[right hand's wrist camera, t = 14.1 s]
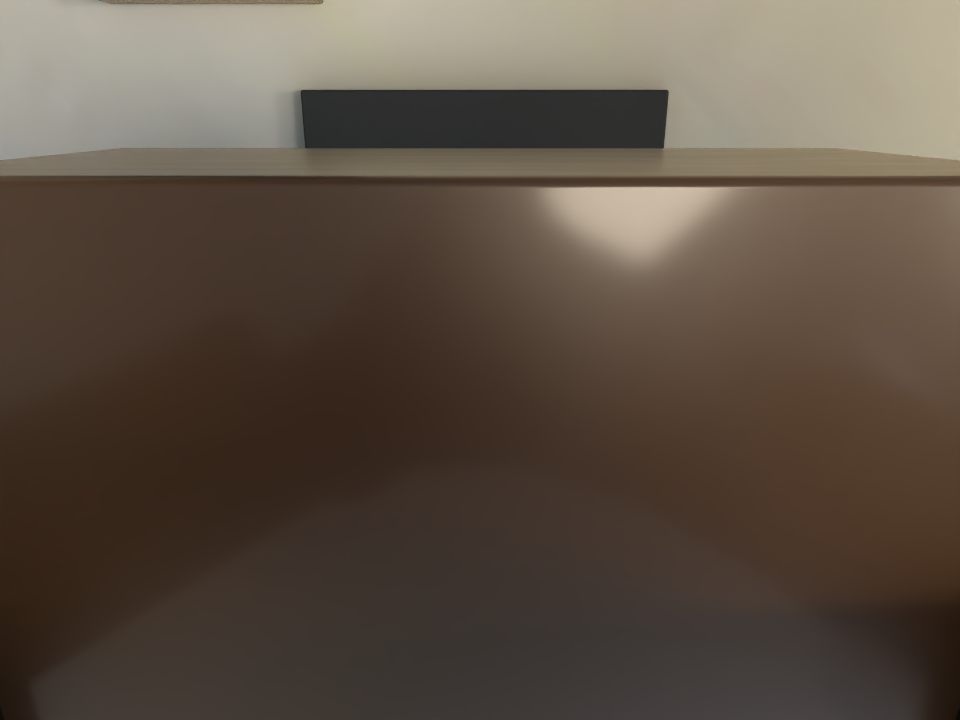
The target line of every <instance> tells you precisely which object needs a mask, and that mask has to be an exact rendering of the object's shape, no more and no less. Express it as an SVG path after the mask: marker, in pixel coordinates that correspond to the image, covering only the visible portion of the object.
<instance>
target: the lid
mask: <svg viewBox="0 0 960 720" xmlns="http://www.w3.org/2000/svg"><path fill="white" fill-rule="evenodd" d="M959 713H960V161H959V160H948V159H938V158H928V157H918V156H907V155H897V154H887V153H877V152H867V151H856V150H846V149H784V148H122V149H112V150H101V151H91V152H81V153H71V154H60V155H50V156H40V157H29V158H19V159H9V160H0V714H1V717H2V720H957V719H958V716H959Z"/></svg>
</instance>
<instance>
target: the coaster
mask: <svg viewBox="0 0 960 720" xmlns="http://www.w3.org/2000/svg"><path fill="white" fill-rule="evenodd" d="M668 93H669V92H668V90H302V91H301V100H302V112H303V124H304V136H305V148H664V139H665V127H666V116H667V105H668Z"/></svg>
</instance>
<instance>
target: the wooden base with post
mask: <svg viewBox="0 0 960 720" xmlns="http://www.w3.org/2000/svg"><path fill="white" fill-rule="evenodd" d="M100 1H104V2H107V3H110V4H321V3H323V0H100Z"/></svg>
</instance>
